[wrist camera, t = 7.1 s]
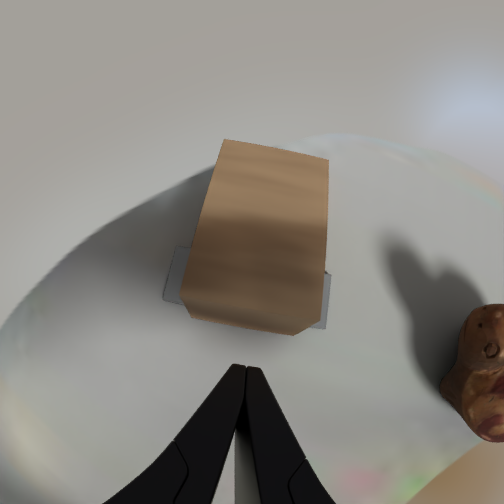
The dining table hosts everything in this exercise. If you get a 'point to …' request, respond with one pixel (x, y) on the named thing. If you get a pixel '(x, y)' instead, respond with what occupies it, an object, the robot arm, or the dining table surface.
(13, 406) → the dining table surface
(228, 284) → the walnut block
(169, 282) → the slate pad
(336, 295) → the dining table surface
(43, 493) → the dining table surface
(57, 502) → the dining table surface
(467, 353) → the decorative turtle
